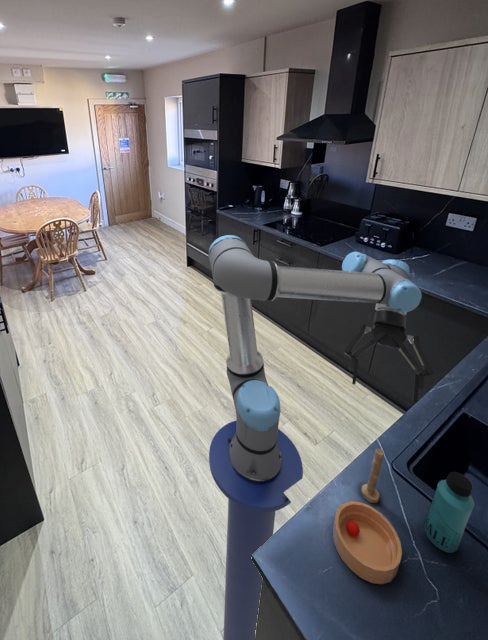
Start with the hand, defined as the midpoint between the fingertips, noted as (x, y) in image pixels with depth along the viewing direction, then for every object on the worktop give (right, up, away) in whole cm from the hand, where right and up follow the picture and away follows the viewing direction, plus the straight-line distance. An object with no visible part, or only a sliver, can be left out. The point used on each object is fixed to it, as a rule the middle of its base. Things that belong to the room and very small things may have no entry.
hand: (383, 392), depth 83 cm
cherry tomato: (-12, -28, -8) cm, 31 cm away
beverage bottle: (+7, -30, -9) cm, 32 cm away
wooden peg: (-3, -27, 0) cm, 27 cm away
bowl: (-11, -30, -10) cm, 34 cm away
